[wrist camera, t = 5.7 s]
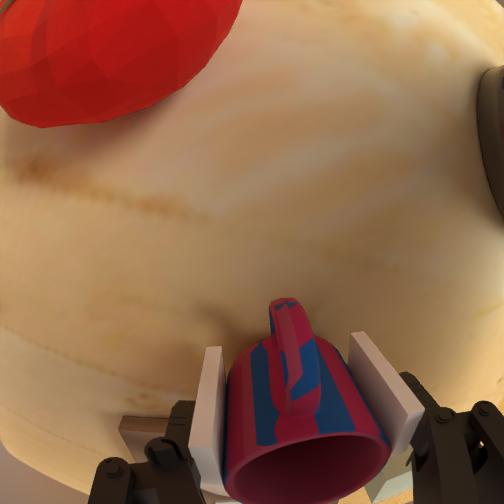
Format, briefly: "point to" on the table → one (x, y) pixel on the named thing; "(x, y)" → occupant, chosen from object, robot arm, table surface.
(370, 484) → the pale sage green cube
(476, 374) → the table surface
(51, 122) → the tomato
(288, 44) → the table surface
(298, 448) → the mug
